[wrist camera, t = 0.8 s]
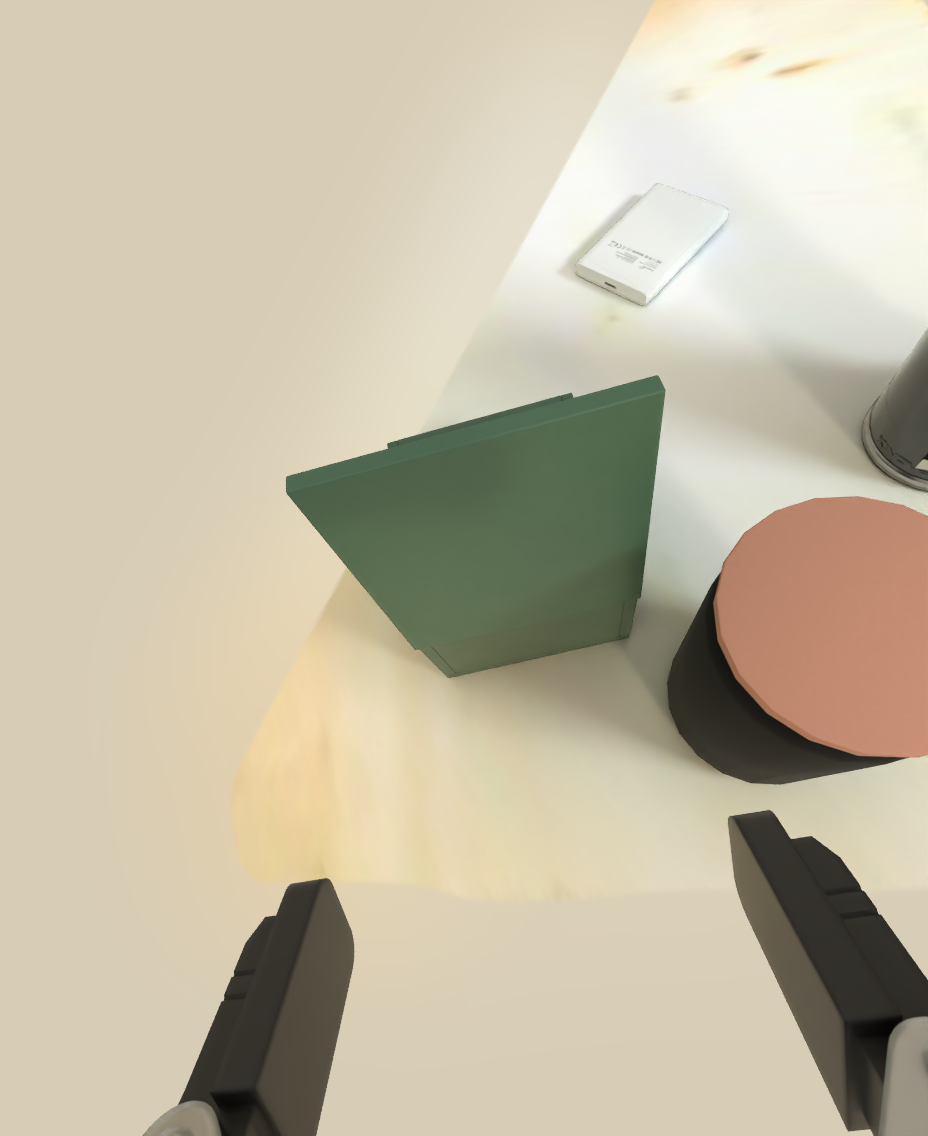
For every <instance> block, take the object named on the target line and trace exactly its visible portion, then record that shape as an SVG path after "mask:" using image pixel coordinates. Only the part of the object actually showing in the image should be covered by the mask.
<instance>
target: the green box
mask: <svg viewBox="0 0 928 1136" xmlns="http://www.w3.org/2000/svg"><path fill="white" fill-rule="evenodd" d="M572 398H573V395H572V393H569V394H565V395H561V396H557V397H554V398H550V399H546V400H543V401H539V402H536V403H532V404H528V405H525V406H521V407H517V408H514V409H510V410H506V411H503V412H499V413H495V414H492V415H488V416H484V417H481V418H477V419H474V420H470V421H466V422H463V423H459V424H455V425H452V426H448V427H444V428H441V429H437V430H433V431H430V432H426V433H422V434H419V435H415V436H412V437H408V438H404V439H401V440H398V441H394V442H390V443H388V444H387V445H388V449H389V448H393V447H396V446H400V445H404V444H407V443H411V442H415V441H418V440H422V439H426V438H429V437H433V436H437V435H440V434H444V433H448V432H451V431H455V430H459V429H462V428H466V427H470V426H473V425H477V424H481V423H484V422H488V421H492V420H495V419H499V418H503V417H506V416H510V415H514V414H517V413H521V412H525V411H528V410H532V409H536V408H539V407H543V406H547V405H550V404H554V403H557V402H561V401H565V400H568V399H572ZM636 602H637V599H633V600H629V601H625V602H620V603H616V604H612V605H608V606H603V607H599V608H595V609H590V610H586V611H582V612H577V613H573V614H569V615H565V616H560V617H556V618H552V619H547V620H543V621H539V622H534V623H530V624H526V625H522V626H517V627H513V628H509V629H504V630H500V631H496V632H491V633H487V634H483V635H479V636H474V637H470V638H466V639H461V640H457V641H453V642H448V643H444V644H440V645H435V646H431V647H427V648H423V649H420V650H421V651H422V652H423V653H424V654H425V655H426V656H427V657H428V658H429V659H430V660H431V661H432V662H433V663H434V664H435V665H436V666H437V667H438V668H439V669H440V670H441V671H442V672H443V673H444V674H445V675H446V676H447V677H448V678H451V677H455V676H460V675H464V674H468V673H473V672H477V671H482V670H486V669H491V668H495V667H500V666H504V665H508V664H513V663H517V662H522V661H526V660H531V659H535V658H539V657H544V656H548V655H553V654H557V653H562V652H566V651H570V650H575V649H579V648H584V647H588V646H593V645H597V644H601V643H606V642H610V641H615V640H619V639H624V638H628V637H629V635H630V631H631V626H632V621H633V616H634V612H635V607H636Z"/></svg>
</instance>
